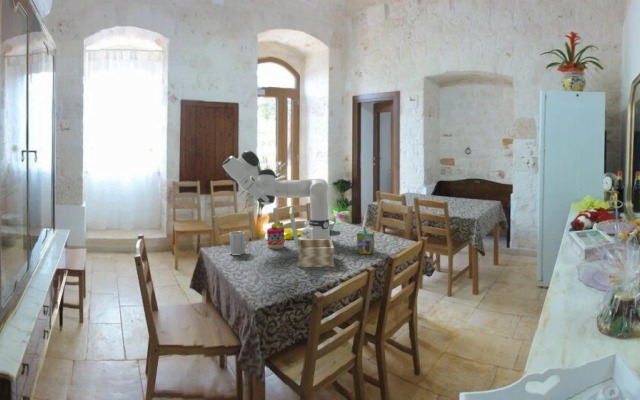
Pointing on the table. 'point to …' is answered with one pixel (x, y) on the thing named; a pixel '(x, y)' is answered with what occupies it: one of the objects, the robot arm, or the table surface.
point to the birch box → (315, 253)
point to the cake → (276, 236)
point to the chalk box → (365, 242)
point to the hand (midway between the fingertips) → (268, 201)
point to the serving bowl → (331, 225)
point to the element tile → (291, 233)
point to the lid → (293, 227)
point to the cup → (238, 242)
